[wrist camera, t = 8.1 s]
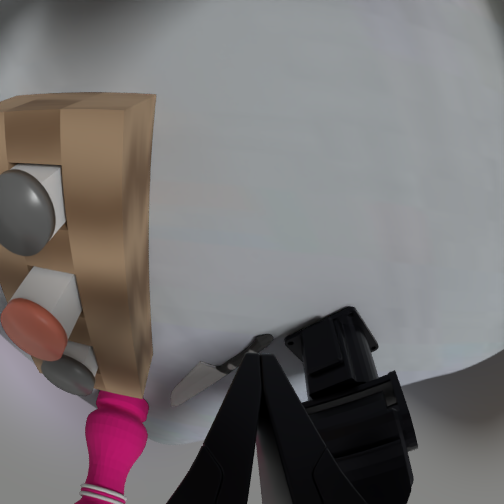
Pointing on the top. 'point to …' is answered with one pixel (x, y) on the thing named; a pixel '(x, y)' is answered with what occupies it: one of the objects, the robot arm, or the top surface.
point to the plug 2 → (73, 369)
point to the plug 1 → (30, 207)
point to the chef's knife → (212, 373)
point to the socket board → (93, 218)
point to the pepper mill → (113, 446)
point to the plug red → (43, 313)
